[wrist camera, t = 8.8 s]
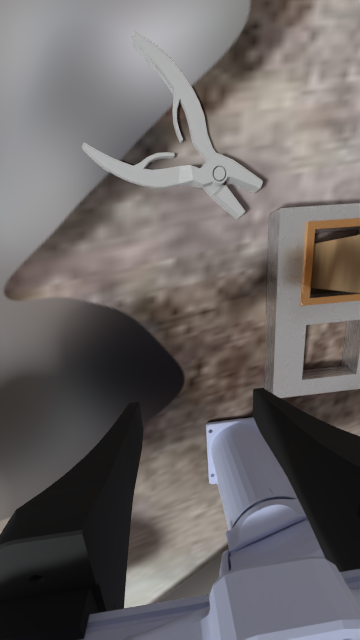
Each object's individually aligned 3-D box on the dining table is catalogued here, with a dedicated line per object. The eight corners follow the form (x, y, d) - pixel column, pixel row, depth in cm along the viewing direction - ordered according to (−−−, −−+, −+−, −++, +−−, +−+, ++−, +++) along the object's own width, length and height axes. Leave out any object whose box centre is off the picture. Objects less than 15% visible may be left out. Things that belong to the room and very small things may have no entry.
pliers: (135, 13, 15) (286, 147, 17) (137, 38, 16) (276, 157, 19) (75, 144, 16) (222, 247, 19) (83, 154, 18) (218, 249, 21)
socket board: (364, 377, 25) (382, 387, 23) (264, 388, 24) (273, 399, 22) (391, 206, 20) (417, 198, 18) (268, 214, 20) (281, 207, 18)
